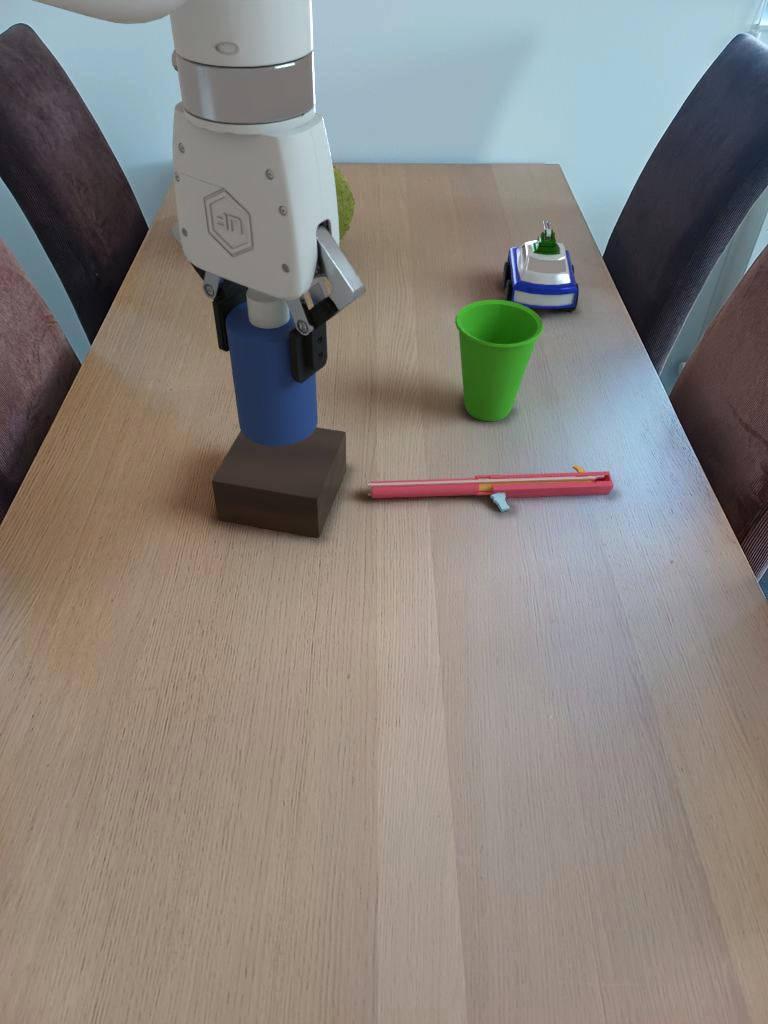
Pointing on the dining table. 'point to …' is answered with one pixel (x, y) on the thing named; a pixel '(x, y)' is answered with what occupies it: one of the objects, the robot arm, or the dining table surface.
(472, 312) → the cup
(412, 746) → the dining table surface
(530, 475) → the pink long slotted bar
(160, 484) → the dining table surface
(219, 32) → the robot arm
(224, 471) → the block
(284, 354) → the bottle
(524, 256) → the toy car
